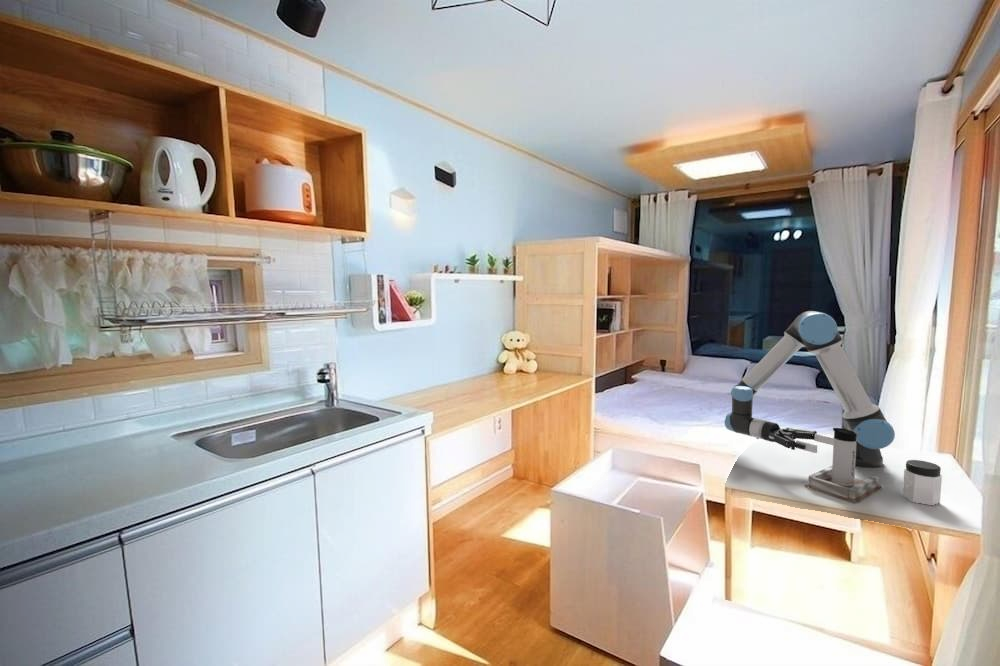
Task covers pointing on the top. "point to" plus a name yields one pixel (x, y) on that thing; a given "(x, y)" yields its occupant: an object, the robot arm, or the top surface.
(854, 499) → the tray
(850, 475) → the travel mug
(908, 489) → the jar
